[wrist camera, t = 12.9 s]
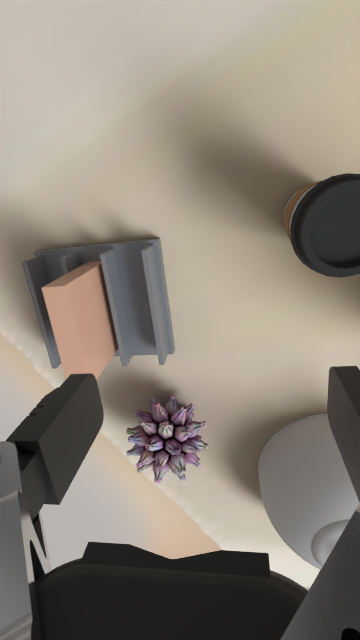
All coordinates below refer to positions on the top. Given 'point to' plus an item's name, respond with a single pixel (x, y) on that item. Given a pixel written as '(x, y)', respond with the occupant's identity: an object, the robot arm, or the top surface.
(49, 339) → the rack
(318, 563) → the kettle
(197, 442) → the flower
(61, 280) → the tall peach block
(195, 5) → the top surface
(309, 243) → the coffee cup
